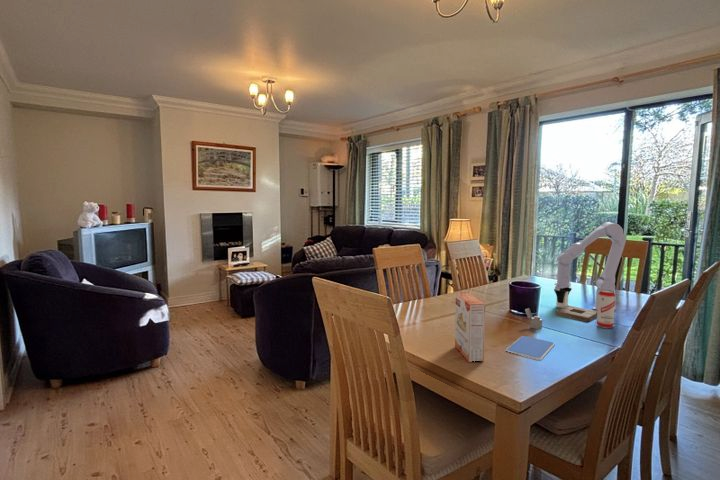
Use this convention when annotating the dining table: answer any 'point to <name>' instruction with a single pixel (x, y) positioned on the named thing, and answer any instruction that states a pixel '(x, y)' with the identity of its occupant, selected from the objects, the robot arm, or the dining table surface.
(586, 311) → the slotted board
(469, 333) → the cracker box
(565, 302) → the peg
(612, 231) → the robot arm
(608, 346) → the dining table surface
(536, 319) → the lighter
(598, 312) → the beer can
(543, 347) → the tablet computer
